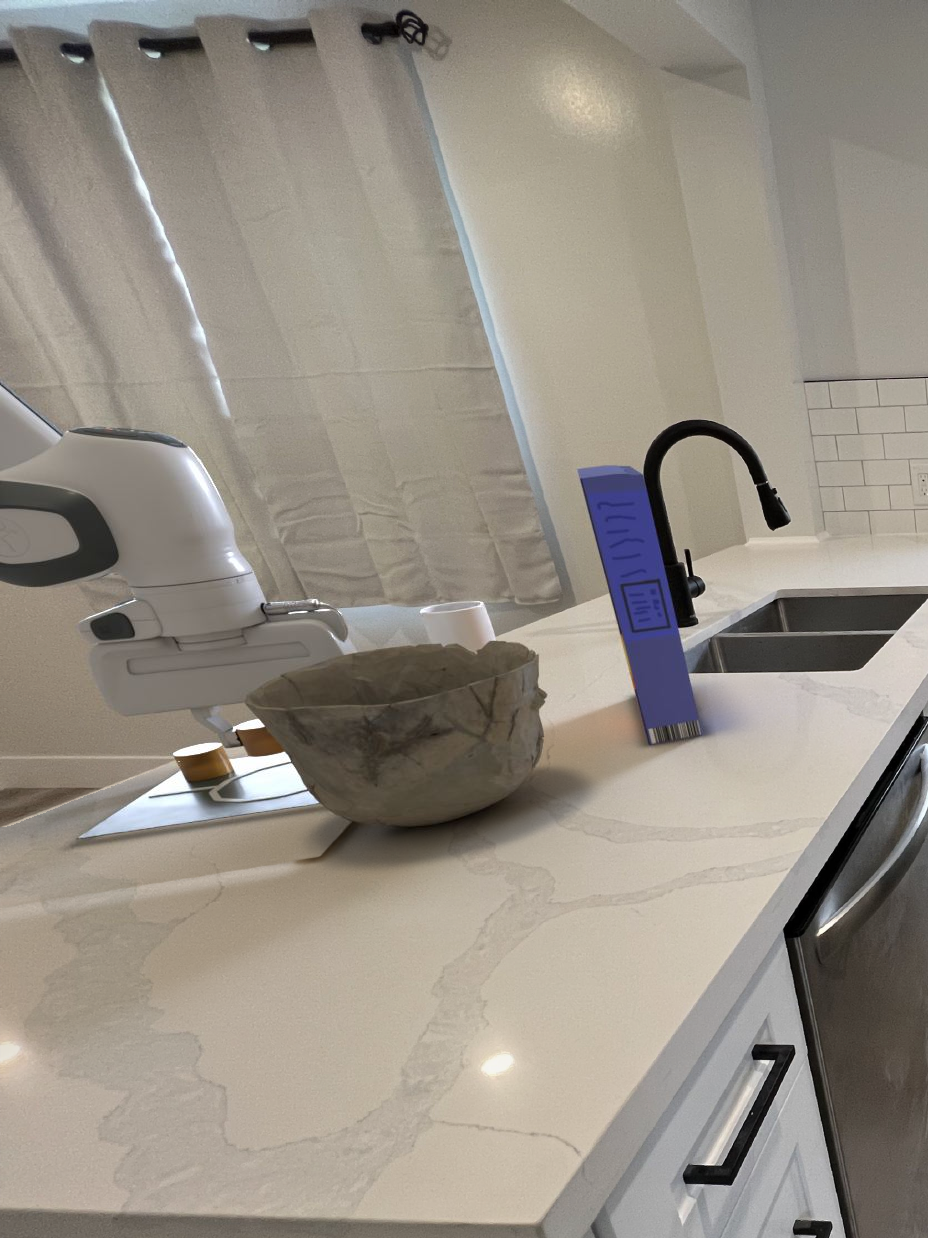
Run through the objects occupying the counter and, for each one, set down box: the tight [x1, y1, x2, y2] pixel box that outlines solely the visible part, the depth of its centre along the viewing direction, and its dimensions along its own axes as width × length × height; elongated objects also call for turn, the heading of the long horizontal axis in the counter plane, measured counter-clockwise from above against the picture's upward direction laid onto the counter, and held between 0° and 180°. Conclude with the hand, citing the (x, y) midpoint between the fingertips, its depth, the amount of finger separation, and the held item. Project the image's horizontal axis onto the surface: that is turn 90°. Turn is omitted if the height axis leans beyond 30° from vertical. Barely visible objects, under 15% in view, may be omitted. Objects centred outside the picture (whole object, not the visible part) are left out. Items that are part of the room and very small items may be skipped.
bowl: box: [244, 640, 548, 828], centre depth 82 cm, size 22×22×15 cm
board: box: [76, 752, 321, 840], centre depth 92 cm, size 20×20×1 cm
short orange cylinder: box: [172, 742, 234, 781], centre depth 94 cm, size 4×4×3 cm
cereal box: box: [576, 464, 703, 746], centre depth 104 cm, size 22×6×30 cm, turn 28°
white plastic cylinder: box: [420, 600, 497, 655], centre depth 108 cm, size 7×7×15 cm
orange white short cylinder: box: [234, 718, 285, 757], centre depth 88 cm, size 4×4×3 cm
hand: (268, 741), depth 89 cm, fingers closed on orange white short cylinder, 4 cm apart
